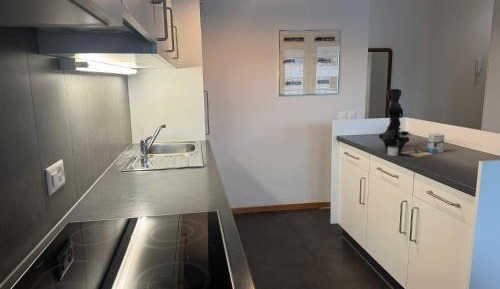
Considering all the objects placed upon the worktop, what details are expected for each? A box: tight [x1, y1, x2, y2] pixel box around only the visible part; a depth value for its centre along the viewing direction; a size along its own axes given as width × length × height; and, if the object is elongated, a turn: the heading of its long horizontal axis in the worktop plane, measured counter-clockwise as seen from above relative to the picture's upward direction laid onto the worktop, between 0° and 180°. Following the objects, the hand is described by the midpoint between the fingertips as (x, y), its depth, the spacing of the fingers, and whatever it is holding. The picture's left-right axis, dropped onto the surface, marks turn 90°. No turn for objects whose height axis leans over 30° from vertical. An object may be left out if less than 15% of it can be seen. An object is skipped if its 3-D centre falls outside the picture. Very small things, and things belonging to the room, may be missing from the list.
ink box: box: [426, 132, 445, 154], centre depth 228 cm, size 8×5×12 cm, turn 105°
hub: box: [387, 145, 399, 157], centre depth 224 cm, size 6×6×5 cm
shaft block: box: [400, 143, 434, 158], centre depth 224 cm, size 14×12×6 cm
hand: (393, 151), depth 224 cm, fingers open, 9 cm apart
